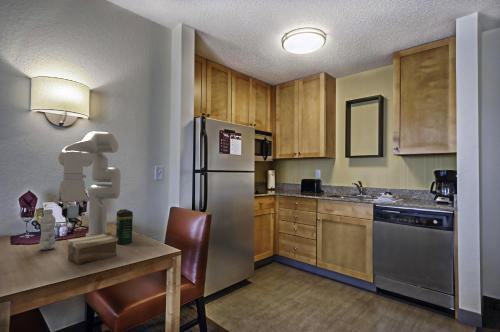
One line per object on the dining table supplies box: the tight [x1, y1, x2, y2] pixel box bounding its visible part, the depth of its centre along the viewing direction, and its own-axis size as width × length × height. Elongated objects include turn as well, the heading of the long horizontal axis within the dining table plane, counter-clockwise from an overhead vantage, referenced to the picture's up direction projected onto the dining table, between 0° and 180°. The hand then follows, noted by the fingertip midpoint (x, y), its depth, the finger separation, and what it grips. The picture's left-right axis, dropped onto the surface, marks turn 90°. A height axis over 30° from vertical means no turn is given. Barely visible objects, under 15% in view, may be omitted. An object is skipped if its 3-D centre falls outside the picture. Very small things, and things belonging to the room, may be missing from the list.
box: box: [67, 241, 117, 266], centre depth 123 cm, size 12×16×7 cm
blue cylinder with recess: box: [64, 205, 80, 219], centre depth 123 cm, size 5×5×5 cm
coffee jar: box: [115, 208, 134, 245], centre depth 149 cm, size 10×8×19 cm
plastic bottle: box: [38, 209, 57, 251], centre depth 134 cm, size 6×7×20 cm
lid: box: [66, 230, 118, 249], centre depth 123 cm, size 13×17×3 cm
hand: (72, 215), depth 123 cm, fingers closed on blue cylinder with recess, 5 cm apart
